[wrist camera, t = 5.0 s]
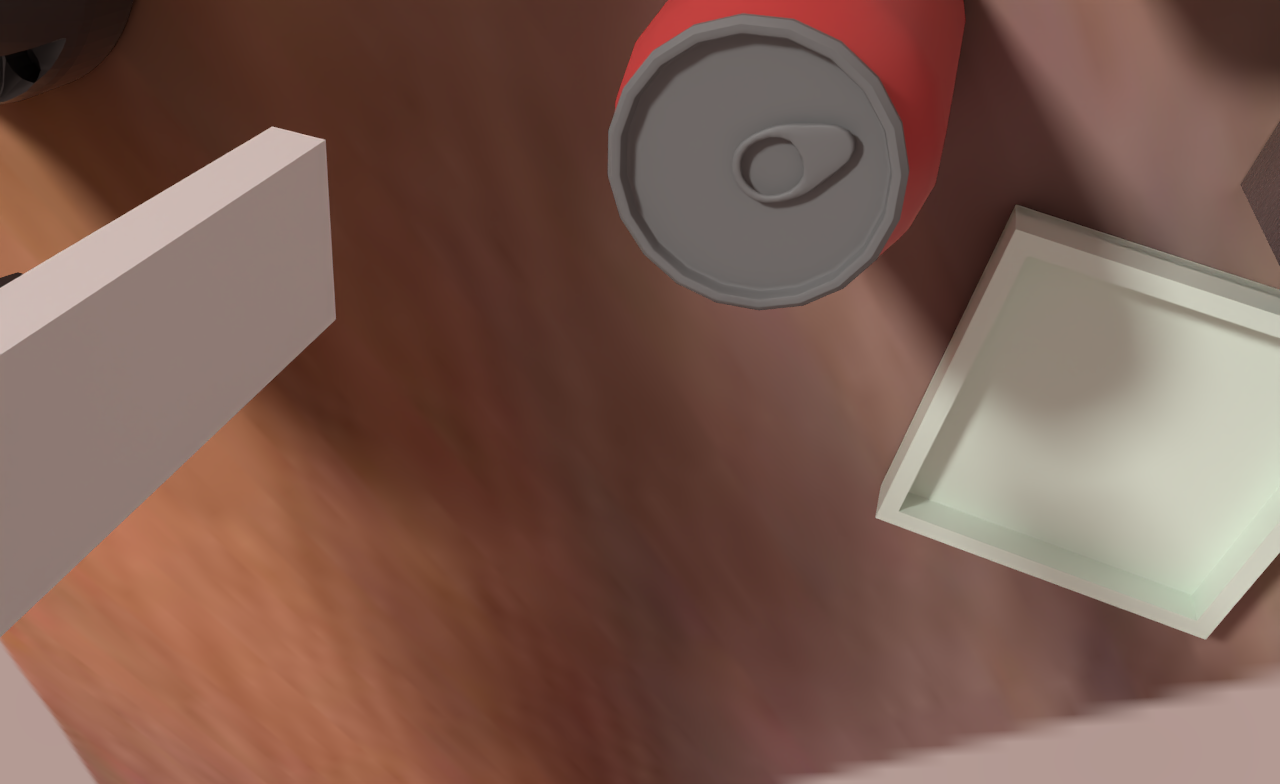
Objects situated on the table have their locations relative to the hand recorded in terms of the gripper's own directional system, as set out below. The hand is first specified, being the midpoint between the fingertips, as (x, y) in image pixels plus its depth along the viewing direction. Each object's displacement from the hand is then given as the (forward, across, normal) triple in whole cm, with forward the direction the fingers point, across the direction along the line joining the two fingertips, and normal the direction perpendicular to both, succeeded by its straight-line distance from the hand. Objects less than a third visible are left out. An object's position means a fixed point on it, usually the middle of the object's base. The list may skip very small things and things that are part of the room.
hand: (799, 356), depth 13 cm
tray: (+18, +10, -11) cm, 23 cm away
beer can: (+19, -1, -1) cm, 19 cm away
